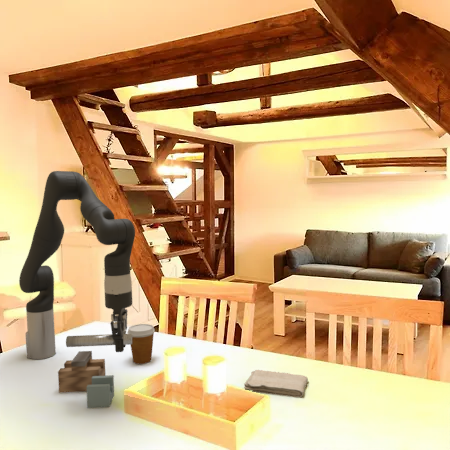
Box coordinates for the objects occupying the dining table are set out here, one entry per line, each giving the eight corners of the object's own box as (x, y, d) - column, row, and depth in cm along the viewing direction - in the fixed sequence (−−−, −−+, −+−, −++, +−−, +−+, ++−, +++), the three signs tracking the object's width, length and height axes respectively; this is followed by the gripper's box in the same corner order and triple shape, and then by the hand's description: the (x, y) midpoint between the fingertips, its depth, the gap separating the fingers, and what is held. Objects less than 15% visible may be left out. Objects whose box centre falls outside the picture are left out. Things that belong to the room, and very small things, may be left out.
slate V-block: (87, 408, 124) (86, 387, 123) (93, 395, 131) (92, 376, 131) (109, 407, 124) (108, 386, 124) (114, 394, 132) (113, 375, 131)
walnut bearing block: (59, 392, 134) (57, 362, 133) (67, 380, 143) (66, 352, 142) (99, 390, 135) (98, 360, 134) (105, 378, 143) (104, 350, 143)
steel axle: (66, 348, 125) (65, 338, 124) (69, 344, 128) (68, 334, 127) (131, 346, 126) (130, 336, 125) (132, 341, 129) (132, 331, 128)
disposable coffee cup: (160, 361, 157) (159, 328, 156) (134, 368, 152) (133, 333, 151) (148, 353, 165) (147, 321, 164) (124, 359, 159) (123, 326, 158)
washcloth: (252, 376, 144) (252, 367, 144) (308, 382, 138) (308, 372, 138) (242, 392, 133) (242, 382, 132) (303, 399, 127) (303, 389, 127)
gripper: (109, 285, 133) (112, 341, 134) (99, 296, 119) (102, 359, 120) (135, 284, 133) (137, 340, 134) (127, 294, 119) (130, 357, 120)
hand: (120, 349), depth 127 cm, fingers closed on steel axle, 3 cm apart
